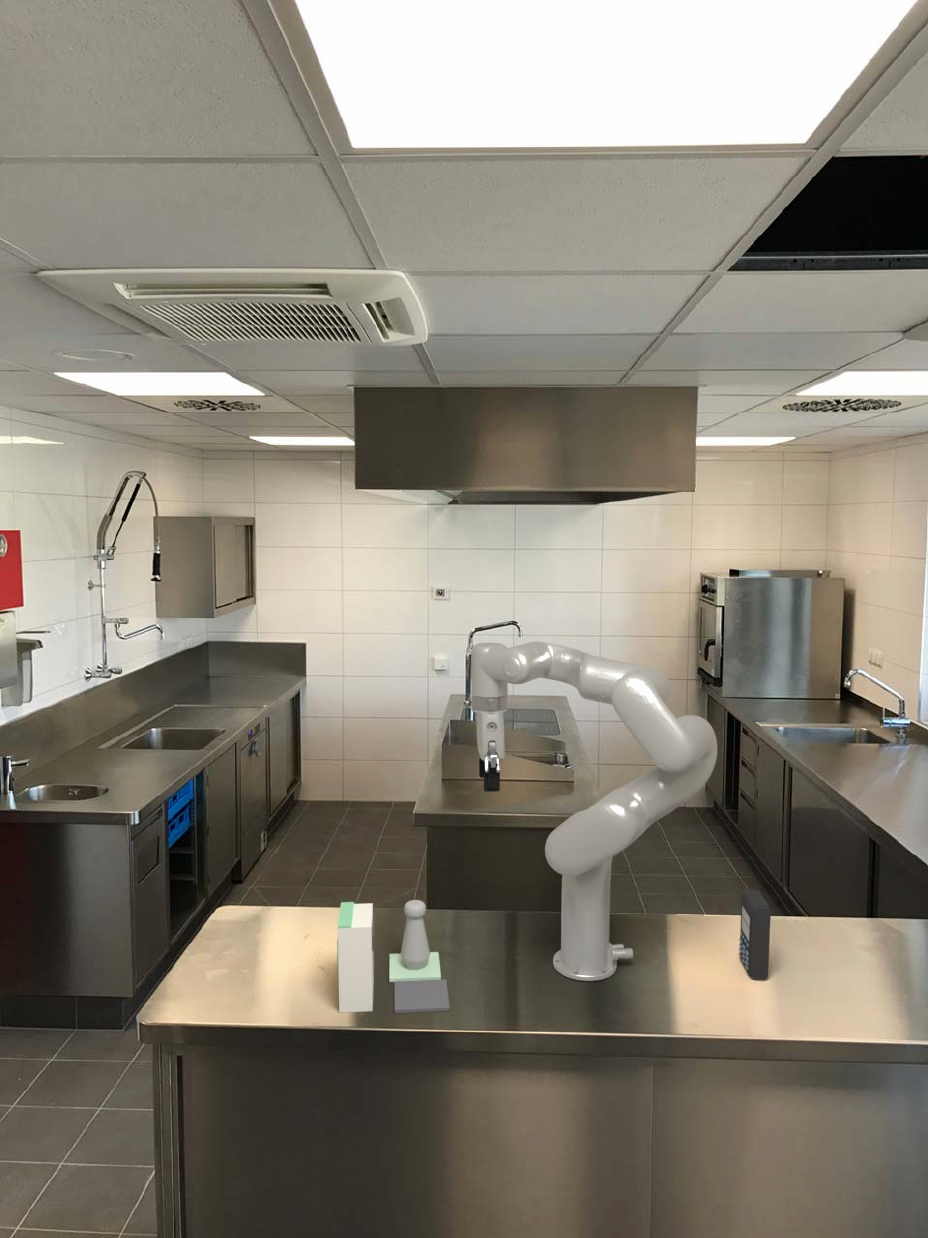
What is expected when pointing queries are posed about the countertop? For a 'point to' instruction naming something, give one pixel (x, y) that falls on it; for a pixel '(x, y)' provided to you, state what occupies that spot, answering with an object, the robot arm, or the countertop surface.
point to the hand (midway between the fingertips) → (489, 784)
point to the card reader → (755, 934)
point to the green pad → (404, 974)
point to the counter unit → (355, 957)
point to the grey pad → (421, 996)
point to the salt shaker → (415, 936)
